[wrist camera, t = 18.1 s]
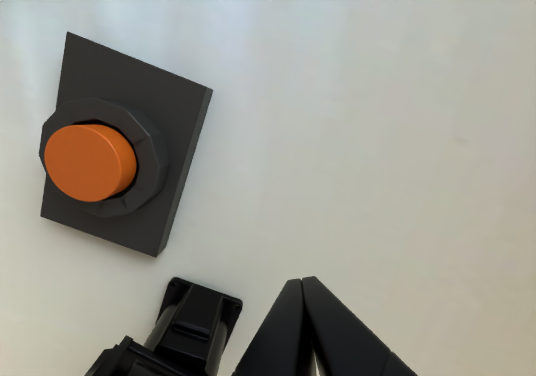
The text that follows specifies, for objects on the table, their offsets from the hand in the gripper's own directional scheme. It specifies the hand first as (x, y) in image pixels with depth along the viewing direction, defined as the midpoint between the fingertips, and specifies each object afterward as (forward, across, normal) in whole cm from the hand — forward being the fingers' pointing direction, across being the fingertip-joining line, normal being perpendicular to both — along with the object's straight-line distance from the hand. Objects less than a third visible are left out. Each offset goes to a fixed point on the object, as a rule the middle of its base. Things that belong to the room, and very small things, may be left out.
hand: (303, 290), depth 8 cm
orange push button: (+9, +11, -5) cm, 15 cm away
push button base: (+12, +11, -5) cm, 17 cm away
